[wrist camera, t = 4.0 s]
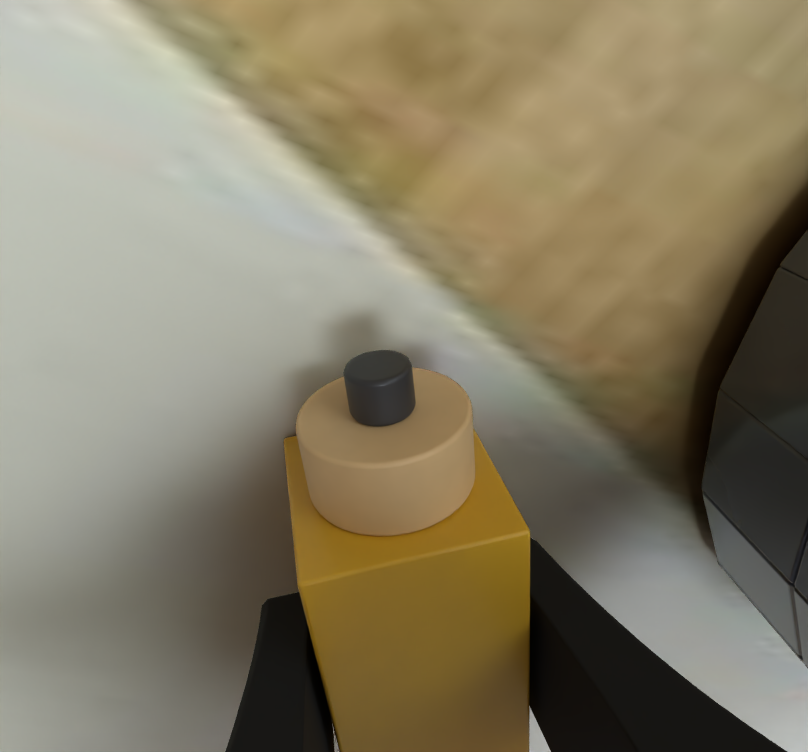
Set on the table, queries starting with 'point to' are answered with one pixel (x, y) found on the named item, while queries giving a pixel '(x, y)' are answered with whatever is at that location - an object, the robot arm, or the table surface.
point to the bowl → (766, 457)
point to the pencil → (409, 564)
